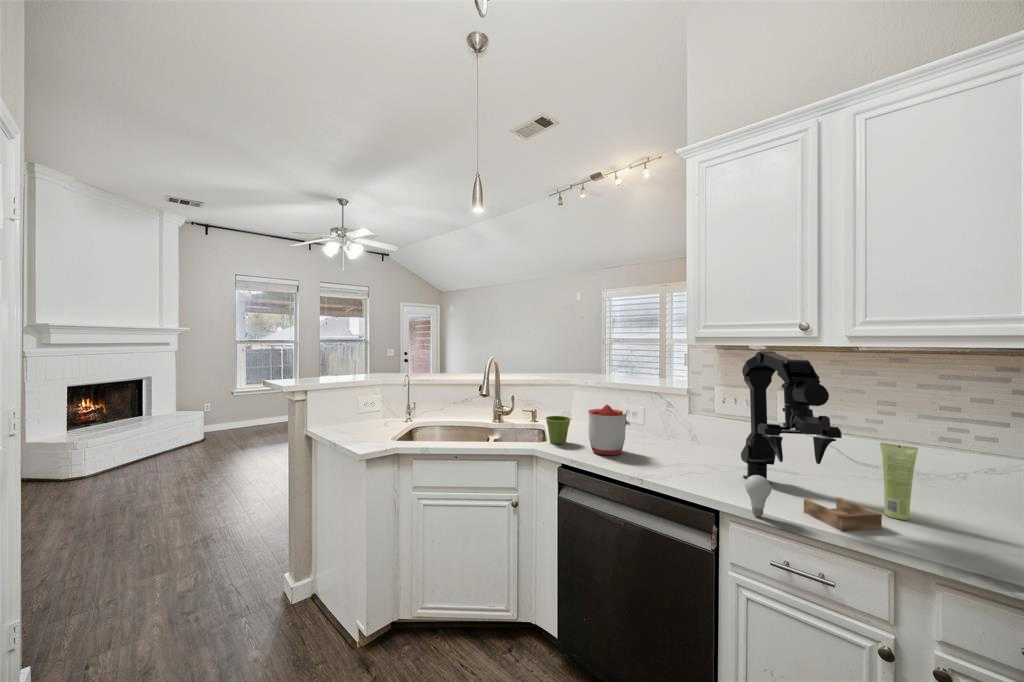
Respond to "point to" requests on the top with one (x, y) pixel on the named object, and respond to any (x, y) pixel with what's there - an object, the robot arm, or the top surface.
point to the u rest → (844, 515)
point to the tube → (898, 478)
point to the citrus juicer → (607, 430)
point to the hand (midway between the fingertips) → (799, 462)
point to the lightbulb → (757, 493)
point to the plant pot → (558, 428)
